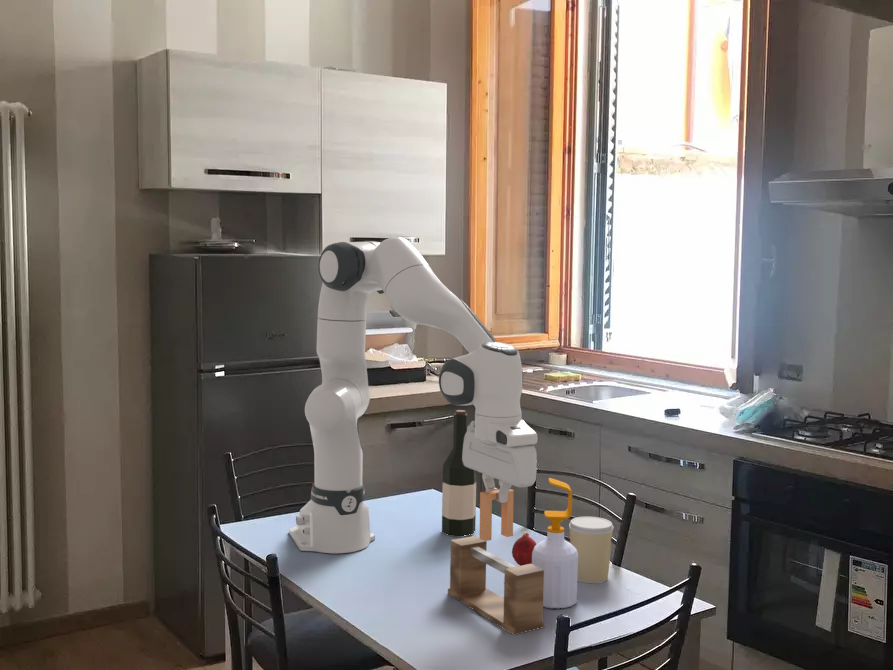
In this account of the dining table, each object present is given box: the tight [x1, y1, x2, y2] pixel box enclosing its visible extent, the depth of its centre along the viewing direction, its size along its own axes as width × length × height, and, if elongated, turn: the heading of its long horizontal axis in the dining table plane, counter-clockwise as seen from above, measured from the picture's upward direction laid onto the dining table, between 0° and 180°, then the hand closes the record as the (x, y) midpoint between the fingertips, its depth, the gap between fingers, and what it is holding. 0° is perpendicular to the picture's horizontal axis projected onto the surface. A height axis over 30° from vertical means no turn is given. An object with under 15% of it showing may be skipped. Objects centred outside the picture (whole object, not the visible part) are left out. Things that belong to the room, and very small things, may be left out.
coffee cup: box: [568, 515, 614, 584], centre depth 202 cm, size 9×9×12 cm
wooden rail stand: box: [447, 535, 546, 635], centre depth 183 cm, size 23×7×11 cm, turn 31°
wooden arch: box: [479, 488, 515, 542], centre depth 182 cm, size 2×6×9 cm, turn 121°
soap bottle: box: [532, 477, 578, 610], centre depth 187 cm, size 9×9×25 cm
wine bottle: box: [441, 409, 477, 537], centre depth 231 cm, size 8×8×30 cm
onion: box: [511, 531, 538, 566], centre depth 207 cm, size 6×6×8 cm
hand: (496, 499), depth 181 cm, fingers closed on wooden arch, 2 cm apart
